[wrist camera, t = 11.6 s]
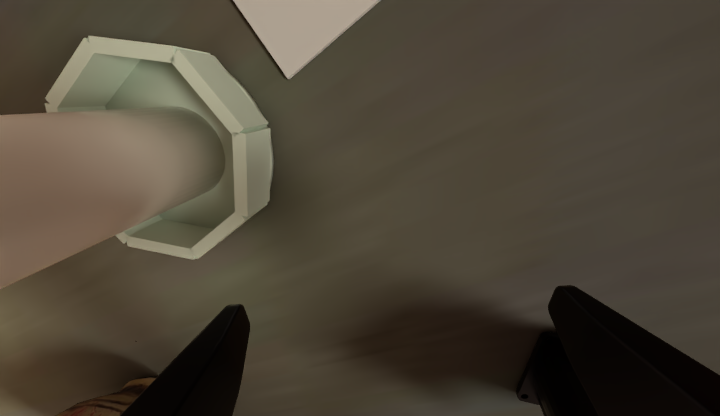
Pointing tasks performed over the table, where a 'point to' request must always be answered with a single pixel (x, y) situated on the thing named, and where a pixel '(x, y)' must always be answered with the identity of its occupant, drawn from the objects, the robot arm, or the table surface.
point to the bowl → (188, 90)
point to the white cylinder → (95, 178)
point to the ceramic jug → (110, 401)
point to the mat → (300, 26)
